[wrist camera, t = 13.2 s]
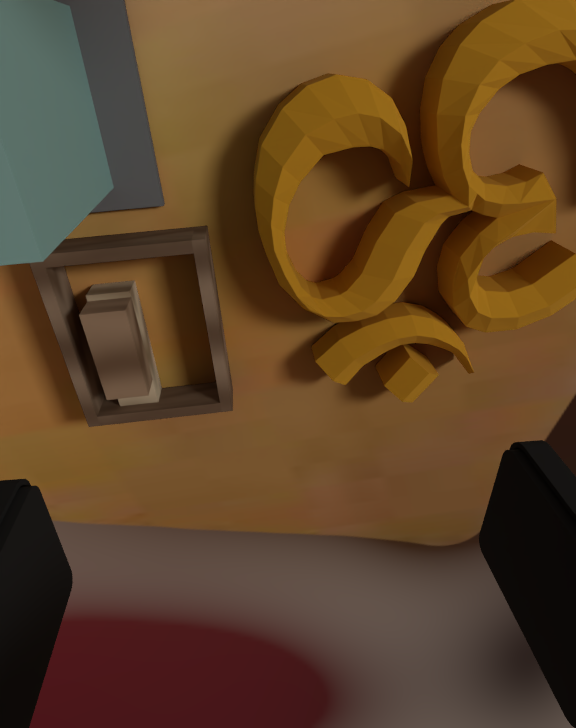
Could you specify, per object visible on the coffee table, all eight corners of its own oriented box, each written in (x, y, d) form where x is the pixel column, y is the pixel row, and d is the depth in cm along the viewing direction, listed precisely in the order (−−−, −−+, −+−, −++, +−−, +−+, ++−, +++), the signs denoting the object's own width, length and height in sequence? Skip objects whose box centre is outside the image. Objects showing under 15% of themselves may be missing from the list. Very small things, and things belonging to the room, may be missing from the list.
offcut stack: (93, 283, 41) (77, 309, 37) (135, 279, 41) (123, 304, 37) (125, 390, 47) (114, 423, 43) (161, 386, 47) (154, 418, 43)
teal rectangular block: (21, 9, 31) (-149, -34, 17) (69, 6, 31) (-60, -40, 17) (73, 191, 36) (-23, 267, 23) (113, 187, 36) (43, 261, 23)
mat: (-44, -13, 30) (-49, -14, 30) (119, -24, 31) (117, -26, 30) (33, 215, 38) (31, 218, 37) (164, 203, 38) (163, 205, 38)
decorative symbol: (711, -39, 29) (612, 374, 45) (649, -26, 34) (579, 347, 49) (223, 53, 29) (297, 433, 45) (225, 54, 34) (291, 400, 50)
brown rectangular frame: (42, 241, 39) (26, 256, 36) (207, 225, 39) (204, 239, 36) (98, 403, 47) (88, 426, 44) (232, 389, 48) (232, 410, 45)
